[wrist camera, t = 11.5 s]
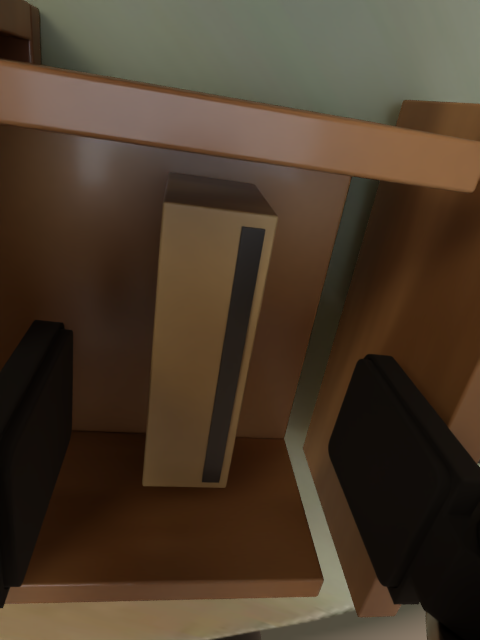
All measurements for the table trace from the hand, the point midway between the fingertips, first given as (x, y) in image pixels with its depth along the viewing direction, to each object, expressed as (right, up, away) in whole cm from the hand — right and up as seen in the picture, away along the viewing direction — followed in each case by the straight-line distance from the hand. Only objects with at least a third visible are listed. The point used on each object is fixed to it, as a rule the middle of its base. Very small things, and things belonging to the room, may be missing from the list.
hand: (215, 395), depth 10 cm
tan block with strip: (-1, +2, +4) cm, 4 cm away
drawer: (+1, +2, +5) cm, 5 cm away
